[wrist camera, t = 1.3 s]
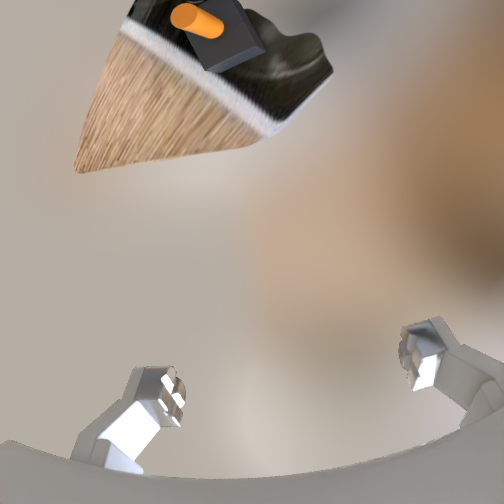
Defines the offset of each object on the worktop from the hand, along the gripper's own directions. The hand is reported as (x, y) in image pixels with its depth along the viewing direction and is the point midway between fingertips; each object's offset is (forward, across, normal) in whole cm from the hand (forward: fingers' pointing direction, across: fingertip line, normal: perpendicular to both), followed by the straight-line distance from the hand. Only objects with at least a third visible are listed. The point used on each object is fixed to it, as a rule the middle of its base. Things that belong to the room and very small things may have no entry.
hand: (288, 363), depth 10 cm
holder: (+42, +1, -21) cm, 47 cm away
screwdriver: (+42, +1, -21) cm, 47 cm away
